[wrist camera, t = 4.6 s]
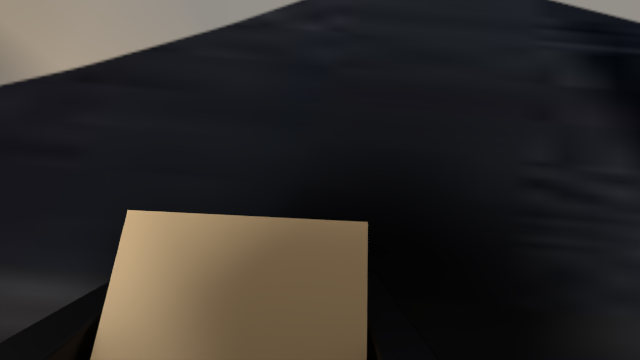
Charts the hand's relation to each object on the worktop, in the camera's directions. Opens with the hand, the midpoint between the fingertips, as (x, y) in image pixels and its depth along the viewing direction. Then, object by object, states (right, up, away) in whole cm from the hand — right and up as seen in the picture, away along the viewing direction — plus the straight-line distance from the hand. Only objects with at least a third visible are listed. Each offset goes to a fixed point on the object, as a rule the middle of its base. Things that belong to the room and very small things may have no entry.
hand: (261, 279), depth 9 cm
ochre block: (0, -4, +6) cm, 7 cm away
